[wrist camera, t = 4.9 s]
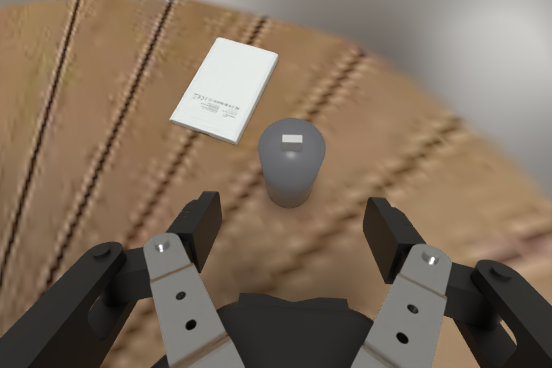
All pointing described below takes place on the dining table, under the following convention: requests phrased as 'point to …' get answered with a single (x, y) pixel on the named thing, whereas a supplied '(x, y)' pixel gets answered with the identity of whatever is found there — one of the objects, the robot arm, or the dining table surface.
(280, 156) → the grey upright cylinder
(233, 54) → the external hard drive
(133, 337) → the dining table surface
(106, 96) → the dining table surface
